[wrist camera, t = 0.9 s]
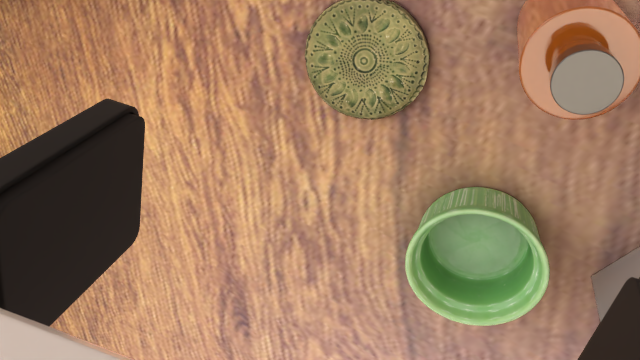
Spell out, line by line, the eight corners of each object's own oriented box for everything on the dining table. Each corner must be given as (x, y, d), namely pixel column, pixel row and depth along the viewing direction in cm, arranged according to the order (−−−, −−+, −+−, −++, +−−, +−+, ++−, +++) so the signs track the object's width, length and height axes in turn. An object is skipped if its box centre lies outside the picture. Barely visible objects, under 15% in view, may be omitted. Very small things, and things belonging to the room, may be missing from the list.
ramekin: (445, 299, 44) (439, 339, 41) (392, 202, 42) (381, 235, 38) (565, 268, 40) (571, 309, 37) (515, 159, 38) (516, 191, 34)
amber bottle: (616, -32, 32) (661, 9, 22) (614, 62, 34) (655, 136, 24) (514, -16, 33) (516, 28, 24) (519, 72, 35) (523, 145, 26)
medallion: (283, 49, 39) (279, 52, 38) (371, -34, 35) (368, -33, 34) (362, 139, 40) (359, 143, 39) (455, 68, 36) (454, 71, 36)
